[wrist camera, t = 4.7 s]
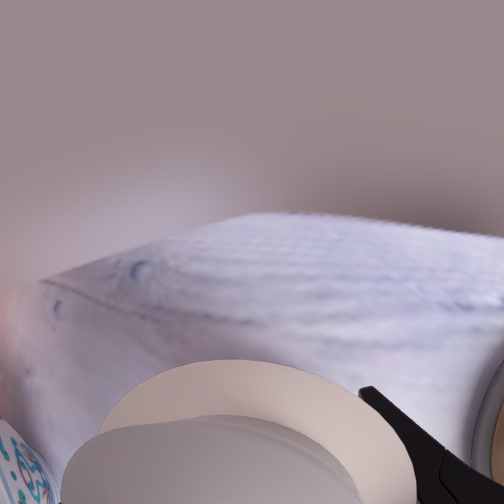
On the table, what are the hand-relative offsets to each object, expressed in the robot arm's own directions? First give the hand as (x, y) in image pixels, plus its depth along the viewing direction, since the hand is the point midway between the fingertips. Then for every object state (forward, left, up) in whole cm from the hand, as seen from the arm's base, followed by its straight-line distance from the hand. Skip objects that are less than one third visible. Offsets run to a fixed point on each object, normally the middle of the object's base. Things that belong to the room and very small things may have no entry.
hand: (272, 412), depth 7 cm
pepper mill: (0, -1, -7) cm, 7 cm away
